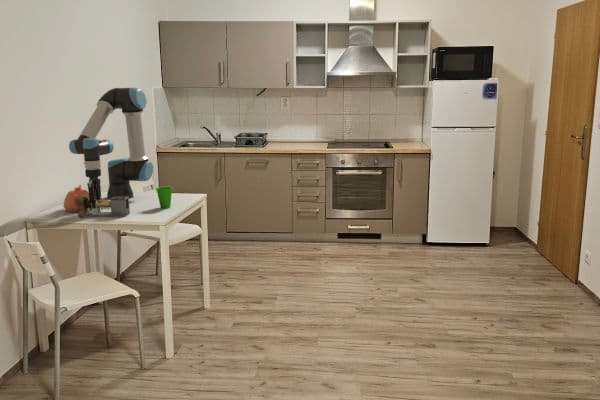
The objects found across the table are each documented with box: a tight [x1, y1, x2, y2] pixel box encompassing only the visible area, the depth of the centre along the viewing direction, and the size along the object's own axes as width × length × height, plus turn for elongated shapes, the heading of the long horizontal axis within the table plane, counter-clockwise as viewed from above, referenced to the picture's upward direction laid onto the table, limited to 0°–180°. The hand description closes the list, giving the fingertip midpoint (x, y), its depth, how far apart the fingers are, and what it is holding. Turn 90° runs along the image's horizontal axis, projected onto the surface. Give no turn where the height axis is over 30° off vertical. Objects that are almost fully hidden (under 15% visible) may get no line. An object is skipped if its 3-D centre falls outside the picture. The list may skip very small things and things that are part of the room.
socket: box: [77, 195, 91, 218], centre depth 283 cm, size 8×3×10 cm, turn 2°
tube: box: [84, 199, 111, 210], centre depth 283 cm, size 5×16×5 cm, turn 92°
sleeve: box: [109, 196, 131, 217], centre depth 284 cm, size 7×8×9 cm
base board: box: [81, 211, 129, 218], centre depth 284 cm, size 8×24×1 cm, turn 92°
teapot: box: [63, 184, 91, 213], centre depth 297 cm, size 22×15×12 cm
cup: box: [155, 186, 174, 210], centre depth 300 cm, size 9×9×11 cm
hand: (96, 213), depth 284 cm, fingers closed on tube, 4 cm apart
